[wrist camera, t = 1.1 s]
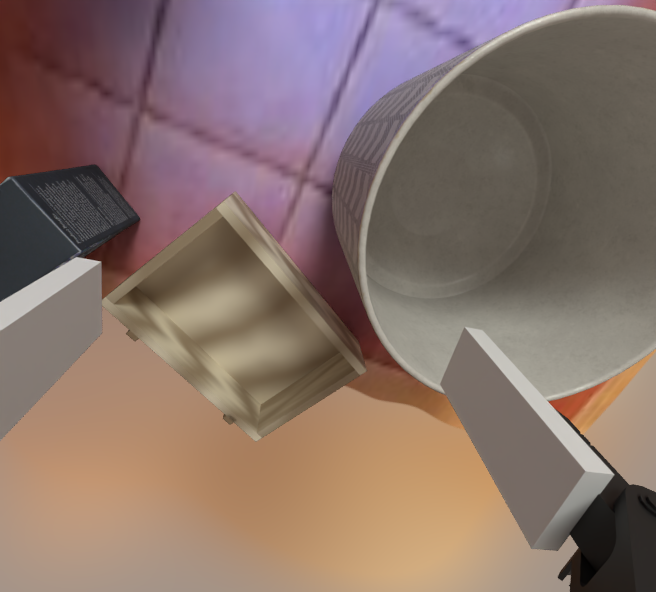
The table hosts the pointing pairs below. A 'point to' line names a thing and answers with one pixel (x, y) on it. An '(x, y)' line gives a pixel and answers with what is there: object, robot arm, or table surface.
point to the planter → (513, 202)
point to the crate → (239, 321)
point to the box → (55, 221)
